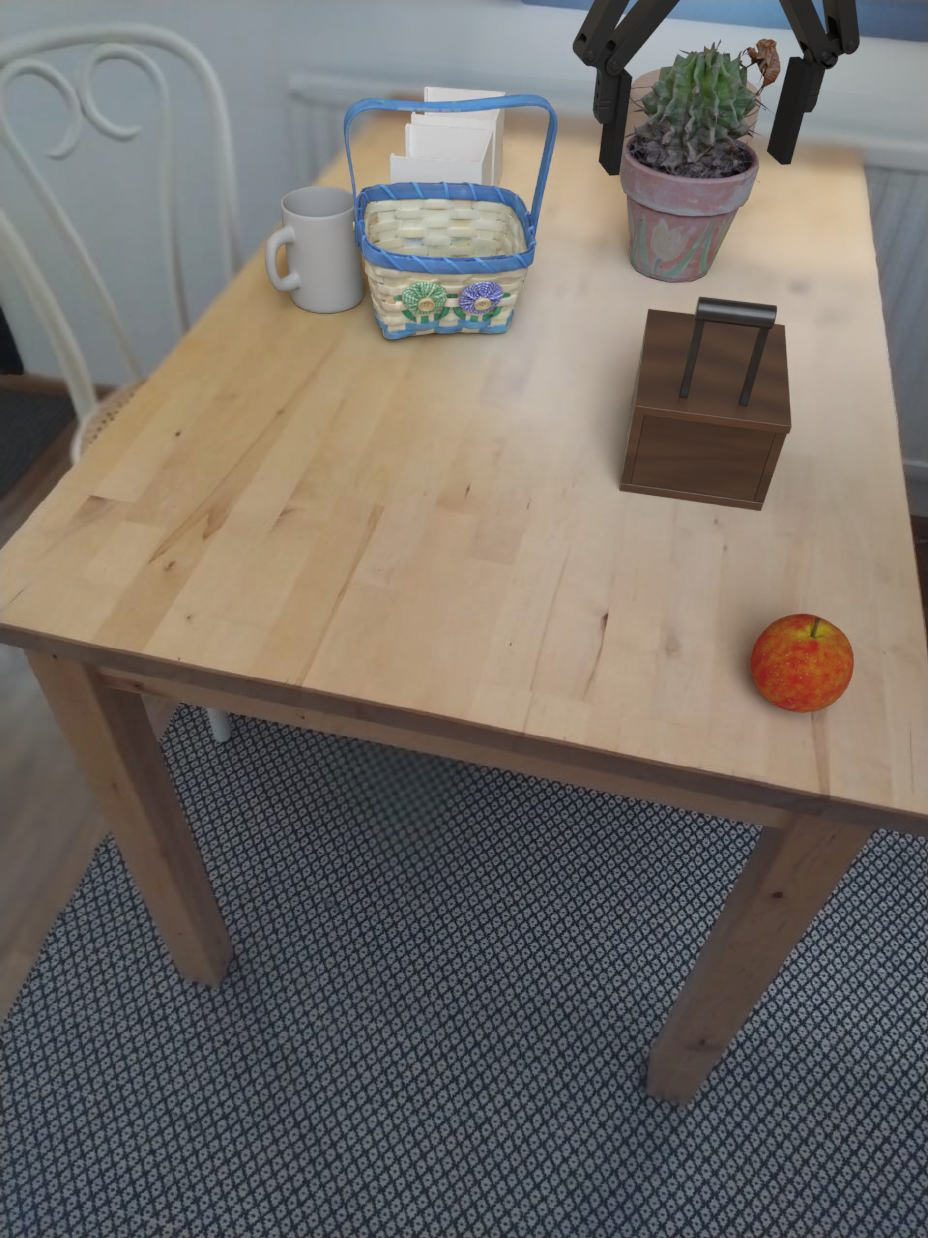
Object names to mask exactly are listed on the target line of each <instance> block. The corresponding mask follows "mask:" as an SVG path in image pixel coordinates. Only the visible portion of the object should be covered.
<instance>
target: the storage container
mask: <svg viewBox="0 0 928 1238" xmlns="http://www.w3.org/2000/svg"><path fill="white" fill-rule="evenodd" d="M506 93H507V92H506V91H497V90H496V91H495V90H484V89H483V90H481V89H467V88H453V87H439V86H425V87H424V89H423V99H424V100H423V102H443V101H461V100H472V99H482V98H490V97H500V96H506ZM505 110H506V108H500V109H491V110H483V111H472V112H457V113H435V112H423V113H424V114H419V113H417V112H411V114H410V121H411V122H410V123H406V124H405V126H404V134H405V135H404V136H405V156H402V155H396V153H394V152H391V153H390V156H389V170H390V171H389V173H390V184H395V183H409V182H421V183H439V182H445V183H463V182H468V183H475V184H479V185H486V186H496V187H500V183H501V179H502V175H503V174H502V172H503V153H504V132H505V112H506V111H505ZM421 209H423V208H420V210H421ZM471 210H475V209H471ZM394 219H395V220H396V219H399V218H394ZM478 220H479V219H478ZM402 247H403V246H402Z"/></svg>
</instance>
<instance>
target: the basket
mask: <svg viewBox="0 0 928 1238" xmlns="http://www.w3.org/2000/svg"><path fill="white" fill-rule="evenodd" d="M520 107H539V108H542V109H545V110H546V111H548V114H549V120H548V125H547V131H546V137H545V141H544V146H543V151H542V156H541V161H540V165H539V169H538V174H537V179H536V184H535V188H534V194H533V198H532V202H531V208H530V211H529V210H528V207H527V206H526V203H525V202H524V200H523V199H522V198H521V196H520V195H519V194H518V193H515V192H514V191H512V190H511V189H508V188H504V187H500V186H498V187H496V186H486V185H479V184H475V183H468V182H463V183H445V182H439V183H421V182H409V183H395V184H391V183H385V184H383V183H377V184H375V185H371V186H366V187H362V188H361V190H360V191H359V193H358V194H357V190H356V189H357V188H356V181H355V177H354V176H355V175H354V170H353V163H352V157H351V149H350V142H349V141H350V140H349V131H350V125H351V123H352V121H353V120H354V118H356V116H357V115H359V114H360V113H363V112H365V111H370V110H383V111H394V112H395V111H396V112H406V113H407V112H409V113H412V112H416V113H424V112H435V113H457V112H472V111H483V110H491V109H500V108H505V109H509V108H520ZM557 133H558V117H557V114H556V111H555V109H554V108H553V107H552V105H551V103H550V102H549V101H548V100H547V99H546V98H545V97H542V96H540V95H539V94H533V93H523V94H522V93H520V94H519V93H518V94H511V95H510V94H509V95H505V96H500V97H490V98H482V99H472V100H461V101H443V102H424V101H421V100H420V101H418V100H417V101H416V100H404V99H403V100H402V99H393V98H378V97H371V98H370V97H368V98H362V99H360V100H358V101H355V102H354V103H353V104H351V106H349V107H348V109H347V110H346V112H345V115H344V118H343V136H344V144H345V150H346V157H347V162H348V170H349V175H350V181H351V190H352V194H353V199H354V212H355V222H353V224H352V226H353V231H354V232H355V242H356V246H357V247H359V245H360V248H361V255H362V256H363V258H364V272H365V274H366V276H367V281H368V286H369V289H370V290H369V295H371V300H372V305H373V308H374V309H373V311H374V315H375V317H376V318H375V319H376V322H377V325H378V327H379V328H380V329H381V331H382V335H383V337H384V338H386V339H387V340H399V339H406V338H407V337H411V336H421V335H422V336H423V335H429V334H434V333H436V334H456V333H467V334H468V333H469V334H483V333H485V334H502V333H506V332H508V331H509V327H510V324H511V323H512V322H513V318H514V317H513V316H514V308H516V305H517V301H518V296H519V294H521V293H522V291H523V289H524V285H525V284H524V283H525V279H526V278H527V274H528V273H527V272H528V269H529V267H530V266H531V265H532V264H533V263H534V261H535V260H534V259H535V254H536V253H535V251H536V246H537V243H538V242H537V240H536V235H537V229H538V224H539V218H540V214H541V208H542V203H543V199H544V194H545V189H546V187H547V186H546V185H547V180H548V176H549V171H550V167H551V163H552V159H553V153H554V149H555V143H556V139H557ZM372 202H373V203H372ZM420 208H423V209H421V210H420ZM471 209H475V210H471ZM367 214H368V215H367ZM366 215H367V216H366ZM394 218H399V219H396V220H395V219H394ZM376 219H377V223H373V224H371V222H373V221H374V220H376ZM478 219H479V220H478ZM370 224H371V225H370ZM402 246H403V247H402Z"/></svg>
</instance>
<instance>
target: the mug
mask: <svg viewBox="0 0 928 1238" xmlns="http://www.w3.org/2000/svg"><path fill="white" fill-rule="evenodd" d="M279 204H280V215H281V216H280V217H281V223H282V227H281V228H279V229H277V230H276V231H274V232H272V234H270V236H269V237H268V238H267V241H266V243H265V248H264V265H265V270H266V271H265V272H266V274H267V275H266V276H267V278H268V281H269V282H270V285H271V286H272V287H273V288H274V289H275V290H276V291H277V292H280V293H288V292H290V297H291V299H292V301H293V303H294V304H295V305H296V306H297V307H298V308H300V309H302V310H304V311H306V312H310V313H316V314H336V313H342V312H345V311H348V310H351V309H353V308H355V307H357V306H358V305H359V304H360V303H361V302H362V300H363V299H364V295H365V284H364V272H363V260H362V259H363V258H362V256H363V255H362V252H361V248H360V245H359V247H357V246H356V242H355V232H354V231H353V226H352V224H353V222H355V212H354V199H353V192H351V191H349V190H347V189H345V188H341V187H338V186H331V185H312V186H304V187H301V188H298V189H294V190H292V191H289V192H288V193H286V194H285V195H284V196H283V197H282V198H281V201H280V203H279ZM283 246H285V254H286V262H287V270H288V271H287V272H288V275H287V276H284V277H280V275H279V272H278V267H277V256H278V251H279V250H280V248H281V247H283Z"/></svg>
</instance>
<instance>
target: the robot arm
mask: <svg viewBox="0 0 928 1238" xmlns="http://www.w3.org/2000/svg"><path fill="white" fill-rule="evenodd" d="M630 1H631V0H593V3H592V4H591V6H590V8H589V10H588V12H587V14H586V16H585V18H584V20H583V22H582V23H581V26H580V28H579V29H578V32H577V34H576V36H575V38H574V39H573V42H572V52H573V53H574V55H576V56H577V57H578V59H579V60H580V61H581V62H582V63H583V64H584V65H585V66H586V67H593V68H595V70H596V75H595V85H594V94H593V103H592V113H593V117H594V118H595V120H596V121H597V122H598V123H599V124H600V125H602V129H601V139H600V142H601V143H600V144H599V145H600V146H599V155H598V163H599V164H600V165H601V167H602V168H603V170H604V171H605V173H607V175H608V177H611V176H613V177H614V176H620V173H621V165H622V163H621V158H622V150H623V143H624V136H625V129H626V121H627V114H628V107H629V99H630V92H631V86H632V84H633V78H634V77H633V75H632V74H630V72H629V71H628V70H626V66H627V65H628V64H629V63H630V62H631V60H633V58H634V57H635V56H636V54H637V53H638V52H639V51H640V49H641V48H643V46H644V45H645V44H646V43H647V42H648V40H649V38H650V37H651V36H652V35H653V34H654V33H655V32H656V30H657V29H658V28H659V27H660V25H661V24H662V23H663V22H664V21H665V19H666V18H667V17H668V15H669V14H670V13H671V12H672V11H673V10H674V8H675V7H676V6H677V5H678V4H679V2H680V1H681V0H637V1H636V2H635V3H634V5H633V6H632V7H631V8H630V10H629V11H628V12H627V13H626V15H624V17H623V18H622V16H623V14H624V12H625V10H626V8H627V7H628V5H629V3H630ZM778 2H779V4H780V6H781V8H782V11H783V12H784V13H783V14H784V15H785V18H786V19H787V21H788V24H789V27H790V28H791V30H792V33H793V35H794V37H795V39H796V42H797V44H798V46H799V48H800V50H801V52H802V54H803V56H802V57H801V56H789V58H788V62H787V67H786V70H785V74H784V78H783V82H782V87H781V90H780V94H779V99H778V102H777V103H778V104H777V107H776V112H775V114H774V119H773V122H772V123H773V124H772V127H771V132H770V135H769V139H768V144H767V147H766V153H768V154H769V156H771V157H772V158H773V159H774V160H775V161H776V162H777V163H779V164H780V166H788V165H791V164H792V161H793V157H794V153H795V149H796V146H797V142H798V138H799V134H800V130H801V127H802V123H803V120H804V116H805V114H806V113H807V114H809V113H812V112H813V110H814V109H815V107H816V105H817V102H818V98H819V95H820V91H821V88H822V84H823V81H824V77H825V74H826V70H827V71H828V70H832V69H833V68H834V67H835V66H836V65H837V63H838V61H839V57H840V56H843V55H847V56H848V55H853V54H854V53H856V52H857V50H858V49H859V46H860V43H861V39H860V37H861V36H860V29H859V21H858V13H857V3H856V0H821V2H822V9H823V15H824V17H823V18H824V23H825V28H824V26H823V24H822V23H823V22H822V21H821V18H820V17H819V14H818V12H817V10H816V7H815V5H814V2H813V0H778ZM621 18H622V19H621Z"/></svg>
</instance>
